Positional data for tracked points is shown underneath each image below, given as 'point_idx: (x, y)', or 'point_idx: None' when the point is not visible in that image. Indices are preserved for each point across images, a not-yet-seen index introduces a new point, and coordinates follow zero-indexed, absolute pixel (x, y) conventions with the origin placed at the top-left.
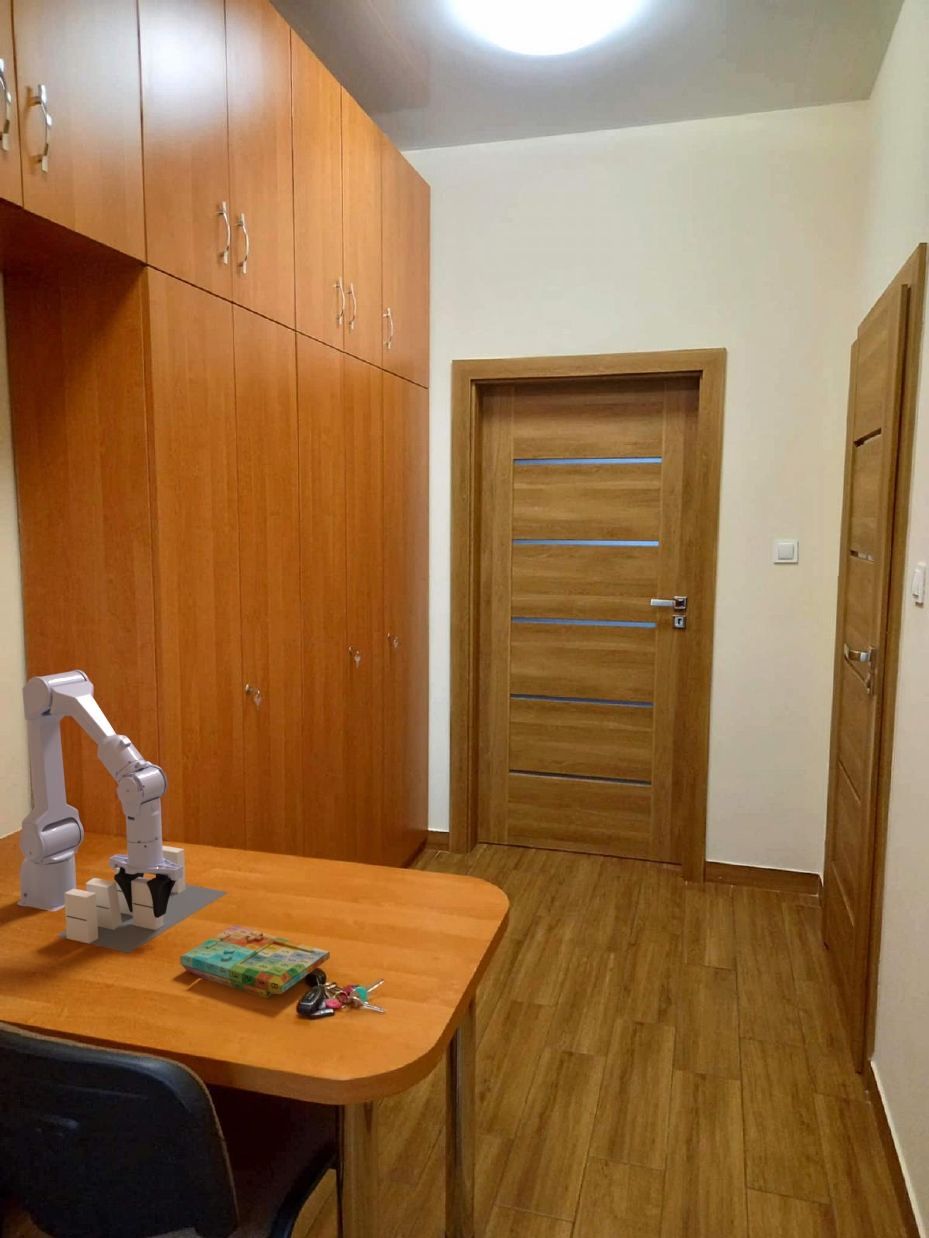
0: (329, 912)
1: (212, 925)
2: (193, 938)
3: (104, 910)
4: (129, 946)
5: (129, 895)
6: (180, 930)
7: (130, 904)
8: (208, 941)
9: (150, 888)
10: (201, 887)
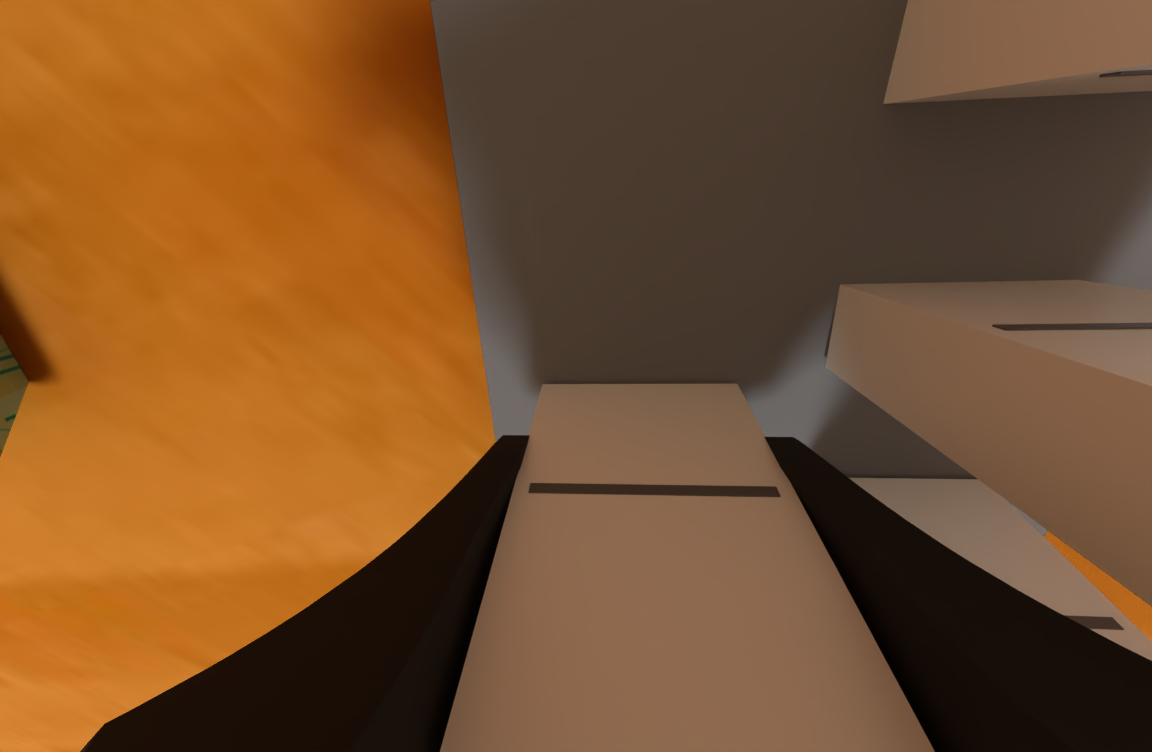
0: (120, 700)
1: (364, 532)
2: (313, 406)
3: (1048, 319)
4: (516, 108)
5: (852, 547)
6: (454, 449)
7: (798, 472)
8: None
9: (346, 686)
10: None
